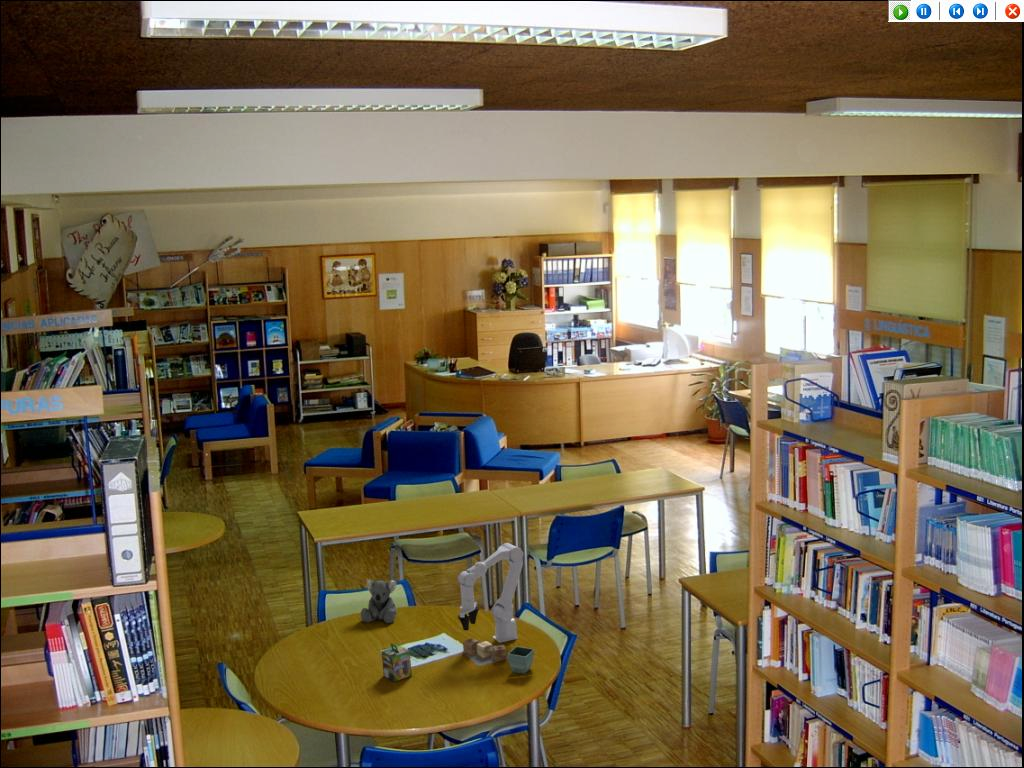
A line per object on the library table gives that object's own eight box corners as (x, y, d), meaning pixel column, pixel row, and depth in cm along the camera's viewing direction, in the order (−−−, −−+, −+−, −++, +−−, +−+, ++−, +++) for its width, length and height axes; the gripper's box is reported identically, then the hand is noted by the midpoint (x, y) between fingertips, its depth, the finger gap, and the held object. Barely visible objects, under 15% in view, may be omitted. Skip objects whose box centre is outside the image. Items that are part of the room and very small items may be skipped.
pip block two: (471, 648, 490) (470, 638, 489) (479, 651, 486) (478, 640, 486) (463, 652, 486) (463, 641, 485) (471, 655, 483) (471, 644, 482)
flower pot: (535, 668, 467) (534, 648, 465) (527, 676, 459) (526, 656, 457) (516, 665, 470) (515, 646, 469) (508, 674, 463) (507, 654, 461)
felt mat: (492, 645, 493) (492, 644, 493) (509, 659, 477) (509, 658, 477) (462, 652, 487) (462, 651, 487) (478, 667, 471) (478, 666, 471)
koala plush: (359, 623, 527) (356, 585, 523) (369, 609, 544) (367, 572, 541) (393, 624, 524) (391, 585, 520) (403, 610, 541) (401, 572, 538)
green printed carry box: (412, 676, 465) (410, 643, 462) (394, 682, 459) (392, 649, 457) (400, 669, 472) (398, 637, 469) (382, 676, 466) (380, 643, 464)
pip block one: (504, 655, 481) (504, 644, 480) (506, 660, 476) (505, 649, 475) (493, 656, 480) (492, 645, 479) (495, 661, 475) (494, 650, 474)
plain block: (486, 651, 486) (486, 640, 485) (492, 655, 482) (492, 644, 481) (477, 654, 483) (476, 643, 482) (483, 658, 479) (483, 647, 478)
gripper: (466, 591, 495) (468, 620, 498) (452, 603, 482) (454, 632, 484) (480, 593, 493) (482, 621, 495) (467, 604, 479) (469, 633, 482)
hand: (469, 626), depth 489 cm, fingers open, 7 cm apart
